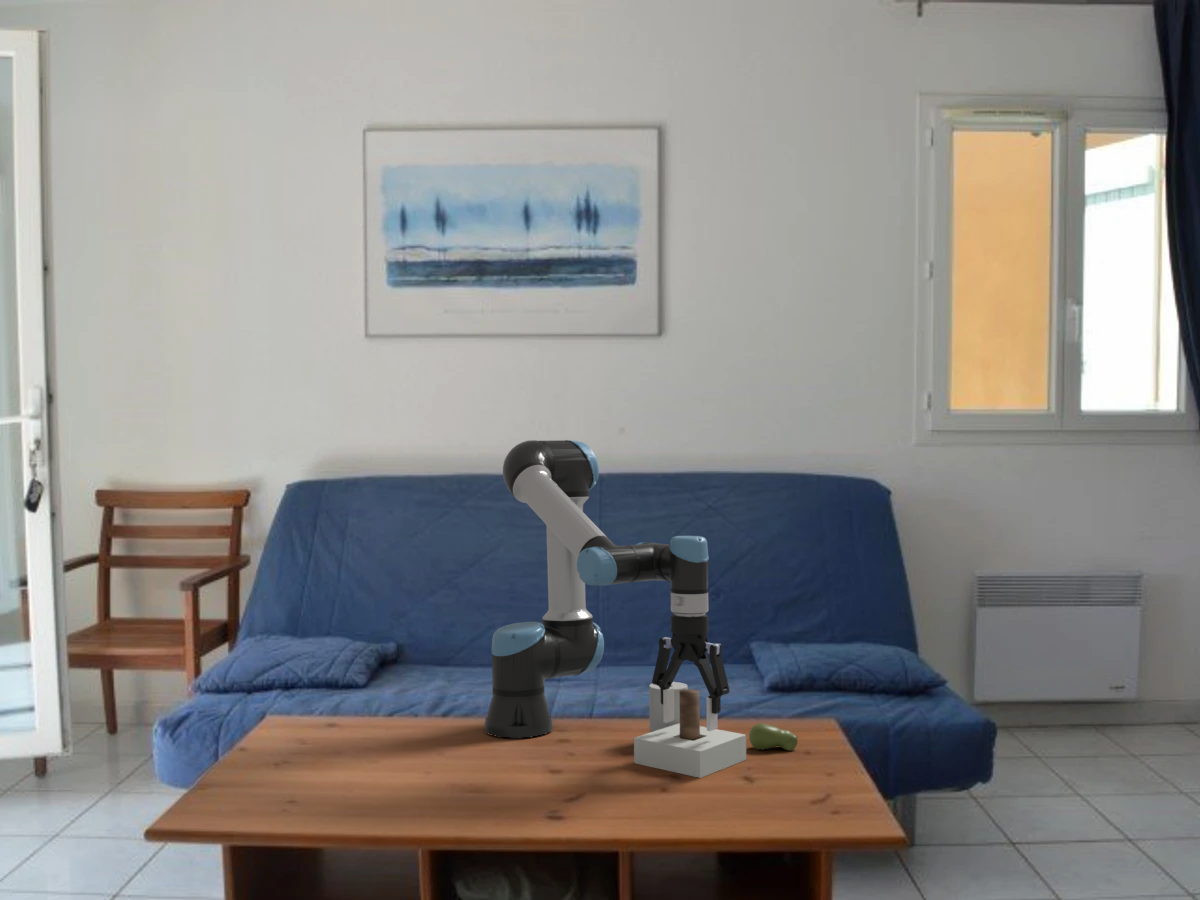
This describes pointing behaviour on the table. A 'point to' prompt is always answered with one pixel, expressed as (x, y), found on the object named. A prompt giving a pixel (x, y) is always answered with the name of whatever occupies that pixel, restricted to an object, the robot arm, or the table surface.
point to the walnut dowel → (689, 714)
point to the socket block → (690, 751)
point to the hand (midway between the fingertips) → (690, 725)
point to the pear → (772, 737)
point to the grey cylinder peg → (657, 707)
